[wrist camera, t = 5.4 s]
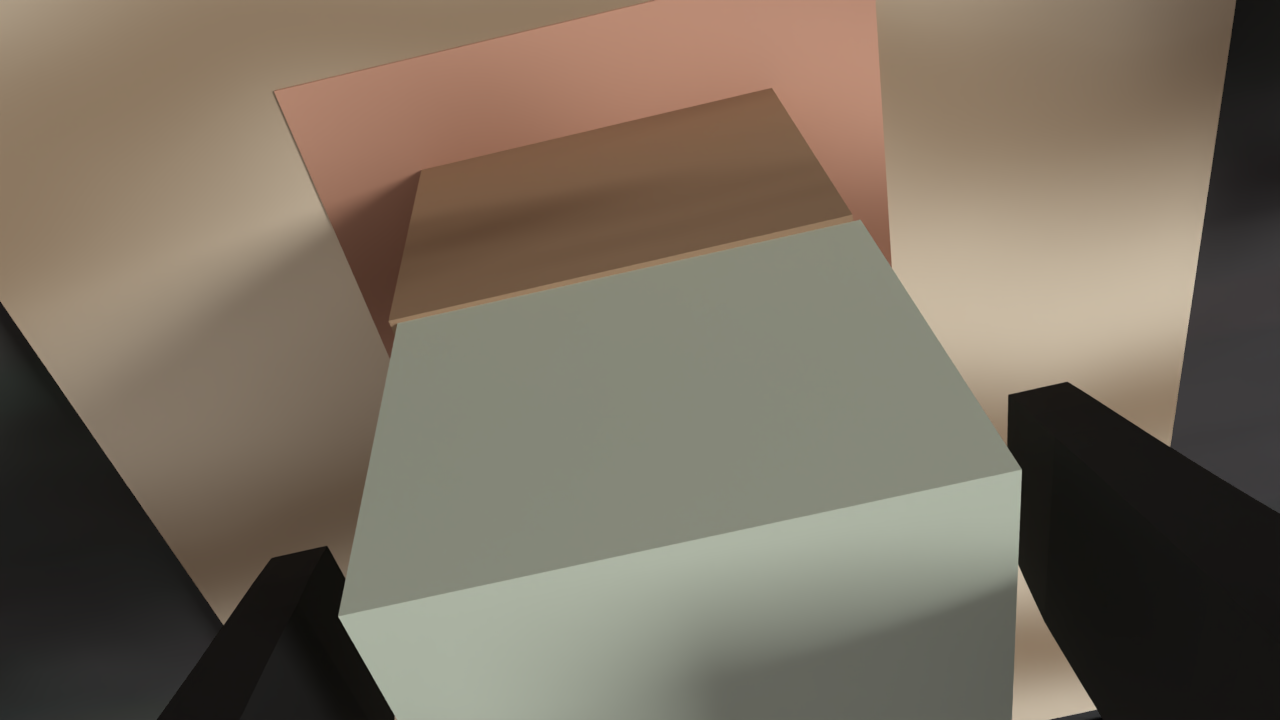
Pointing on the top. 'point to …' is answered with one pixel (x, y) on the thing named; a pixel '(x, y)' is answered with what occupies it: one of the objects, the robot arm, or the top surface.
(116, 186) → the build board
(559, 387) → the sage block
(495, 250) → the walnut block
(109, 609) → the top surface
